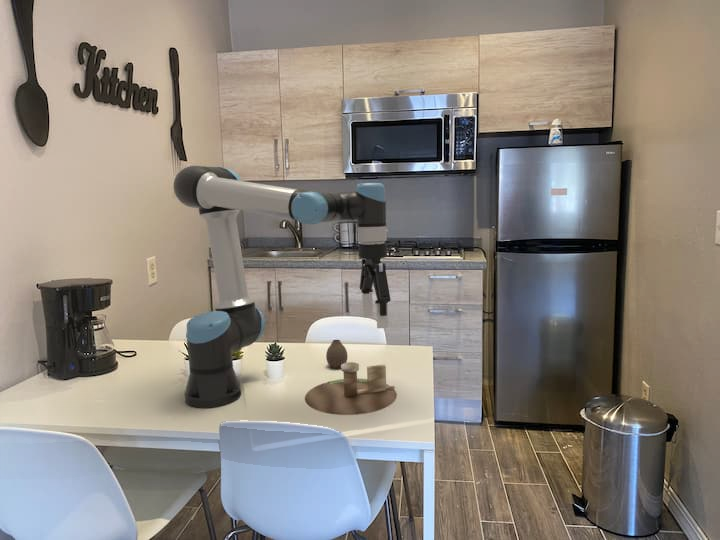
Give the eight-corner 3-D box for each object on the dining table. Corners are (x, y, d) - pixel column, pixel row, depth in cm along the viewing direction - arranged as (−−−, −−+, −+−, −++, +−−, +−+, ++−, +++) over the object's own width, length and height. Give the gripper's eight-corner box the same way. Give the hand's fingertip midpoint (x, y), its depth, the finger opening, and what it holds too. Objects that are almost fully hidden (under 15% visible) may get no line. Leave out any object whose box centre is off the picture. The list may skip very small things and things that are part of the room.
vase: (347, 369, 161) (346, 343, 160) (325, 370, 161) (324, 343, 160) (348, 362, 168) (347, 337, 166) (327, 363, 168) (326, 337, 166)
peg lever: (344, 399, 134) (343, 369, 132) (340, 392, 138) (339, 363, 137) (397, 391, 138) (396, 362, 137) (391, 385, 142) (390, 357, 141)
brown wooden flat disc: (314, 425, 121) (314, 420, 121) (298, 389, 145) (297, 384, 145) (411, 410, 128) (410, 405, 128) (379, 378, 152) (379, 374, 152)
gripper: (402, 245, 120) (404, 331, 123) (372, 238, 144) (374, 311, 147) (372, 247, 119) (374, 334, 121) (347, 240, 142) (350, 313, 145)
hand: (374, 321), depth 134 cm, fingers open, 13 cm apart
